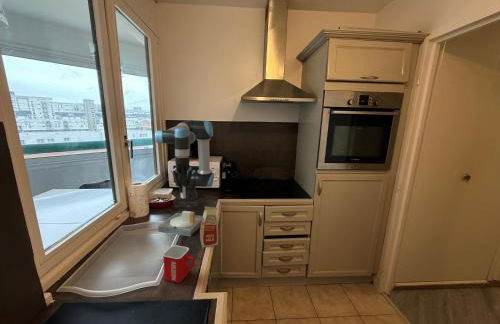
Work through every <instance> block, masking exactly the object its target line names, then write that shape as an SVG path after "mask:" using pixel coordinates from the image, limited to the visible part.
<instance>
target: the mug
mask: <svg viewBox="0 0 500 324" xmlns="http://www.w3.org/2000/svg"><path fill="white" fill-rule="evenodd" d="M189 251H190V248H189V247H186V246H184V245H182V246H181V245H171V246H170V247H169V248H168V249H167V250H166V251H164V252H163V253H162V256H163V278H164V281H168V282H172V283H175V284H176V283H181V282H182V281H183V280H184V279H185V278H186V277H187V276H188V274H189V271H190V270H192V269H193V268H194V267H195V258H194V257H192V256H189ZM189 260H191V266H190V265H189V264H190V263H189Z"/></svg>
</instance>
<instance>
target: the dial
mask: <svg viewBox="0 0 500 324" xmlns="http://www.w3.org/2000/svg"><path fill="white" fill-rule="evenodd" d="M181 213H182V216H179V217H175V218H173V219H172V220H171V221H170V226H171V227H175V226H176V227H178V228H189V227H192V226H193V225H194V224H195V222H196V219H195V215H196V214H195V212H194V211H188V210H183V211H181Z"/></svg>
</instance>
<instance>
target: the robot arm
mask: <svg viewBox="0 0 500 324" xmlns="http://www.w3.org/2000/svg"><path fill="white" fill-rule="evenodd" d="M213 136H214V128H213V123H212V122H211V121H210V120H209V121H208V120H191V119H190V120H186V121H182V122H180V123H178V124H177V125H176V126H174V127H170V128H168V129H165V130H163V129H161V130H156V131H155V133H154V140H155V143H157V144H163V145H164V144H170V145H171V144H172V145H173V144H174V156H175V158H174V159H175V160H174V162H175V163H174V164H175V166H174V168H173V169H171V170H170V172H171V174H172V178H173V180H174V184H175V186H176V187H178V189H179V195H178V199H179V201H182V202H192V200H193V201H195V200H198V198H199V196H198V193H197V190H196V188H199V187H200V188H211V187H212V186H213V183H214V180H215V179H214V178H215V174H214V173H213V170H212V169H211V166H210V165H211V162H210V161H211V160H210V159H211V158H210V141H211V139H212V137H213ZM196 140H197V149H198V150H197V152H198V170H197V171H196V170H195V169H194V167H192V166H190V164H191V163H190V145H192V144H193V143H194V142H195V141H196Z"/></svg>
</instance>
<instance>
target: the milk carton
mask: <svg viewBox="0 0 500 324" xmlns="http://www.w3.org/2000/svg"><path fill="white" fill-rule="evenodd" d="M218 209H219V207H211V206H210V207H209V206H204V210H203V214H202V216H203V217H202V220H201V226H200V227H199V240H200V243H201V247H202V249H203V248H209V247H212V246H213V247H214V246H217V245H219V227H218V226H219V225H218V217H217V216H218V215H217V210H218Z"/></svg>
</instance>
